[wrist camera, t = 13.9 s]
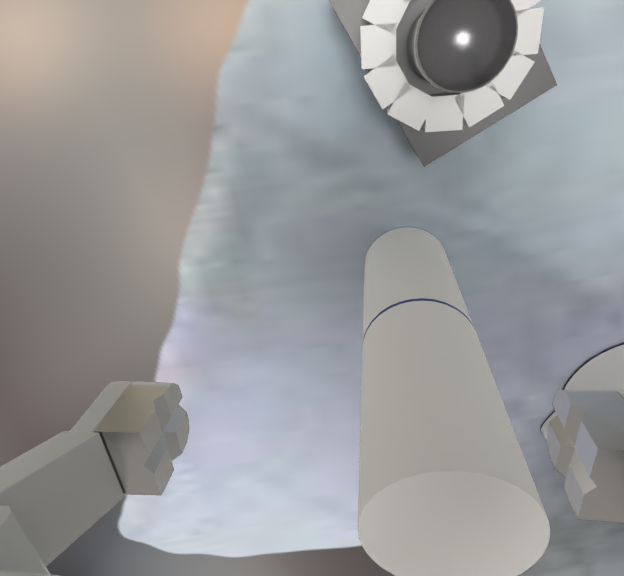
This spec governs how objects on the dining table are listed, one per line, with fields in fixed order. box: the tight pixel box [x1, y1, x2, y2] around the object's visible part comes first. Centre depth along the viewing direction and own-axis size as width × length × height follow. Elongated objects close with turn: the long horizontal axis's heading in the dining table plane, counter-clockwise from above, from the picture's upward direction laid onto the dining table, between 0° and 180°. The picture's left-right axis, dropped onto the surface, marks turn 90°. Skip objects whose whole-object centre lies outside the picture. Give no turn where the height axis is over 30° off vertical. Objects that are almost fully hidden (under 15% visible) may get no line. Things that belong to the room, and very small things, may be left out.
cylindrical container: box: [358, 227, 550, 576], centre depth 28 cm, size 7×7×25 cm
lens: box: [407, 0, 518, 93], centre depth 23 cm, size 5×5×7 cm
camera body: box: [329, 0, 557, 166], centre depth 28 cm, size 12×10×7 cm
